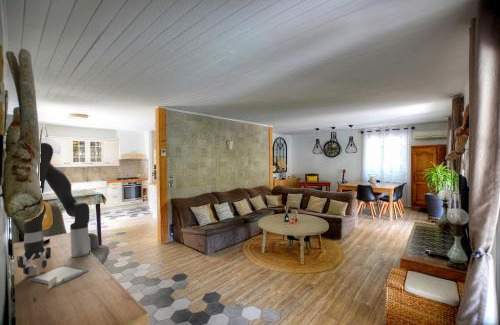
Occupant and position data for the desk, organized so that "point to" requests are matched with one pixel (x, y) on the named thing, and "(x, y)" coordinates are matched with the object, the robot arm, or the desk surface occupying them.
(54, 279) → the cream rectangular slab
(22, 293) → the desk surface
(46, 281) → the clipboard
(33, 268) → the lighter
